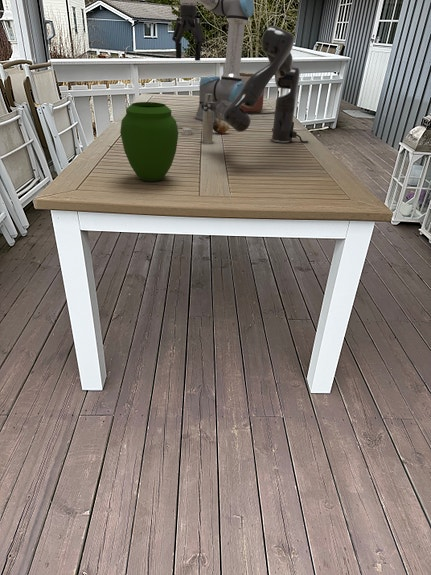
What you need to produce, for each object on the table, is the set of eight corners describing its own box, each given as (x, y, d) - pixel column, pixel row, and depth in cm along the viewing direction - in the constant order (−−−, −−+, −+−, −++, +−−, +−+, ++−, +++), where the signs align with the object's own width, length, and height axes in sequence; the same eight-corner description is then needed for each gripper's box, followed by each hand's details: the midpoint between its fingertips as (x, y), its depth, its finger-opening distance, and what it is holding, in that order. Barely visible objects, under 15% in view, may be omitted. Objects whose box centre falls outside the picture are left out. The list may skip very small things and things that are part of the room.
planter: (266, 114, 273) (270, 77, 261) (229, 113, 269) (231, 75, 257) (257, 107, 294) (260, 73, 283) (222, 107, 290) (224, 72, 278)
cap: (181, 133, 213) (181, 128, 211) (189, 132, 214) (189, 127, 213) (184, 135, 209) (184, 129, 208) (193, 134, 211) (193, 129, 210)
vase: (131, 189, 135) (125, 110, 122) (118, 172, 150) (112, 100, 137) (186, 184, 142) (187, 109, 129) (169, 168, 157) (167, 99, 144)
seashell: (228, 132, 219) (229, 116, 215) (229, 134, 214) (230, 118, 210) (210, 131, 218) (211, 115, 213) (211, 134, 213) (212, 117, 209)
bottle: (209, 140, 201) (211, 93, 189) (214, 143, 197) (216, 94, 186) (200, 141, 198) (201, 93, 187) (205, 143, 195) (206, 94, 184)
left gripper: (164, 4, 188) (165, 57, 199) (201, 4, 173) (199, 61, 184) (176, 5, 192) (177, 57, 203) (213, 5, 177) (211, 61, 189)
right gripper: (242, 100, 166) (230, 95, 179) (208, 100, 163) (198, 94, 176) (240, 120, 170) (229, 113, 183) (207, 120, 167) (198, 113, 180)
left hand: (187, 59), depth 194 cm, fingers open, 13 cm apart
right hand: (214, 104), depth 180 cm, fingers open, 8 cm apart
